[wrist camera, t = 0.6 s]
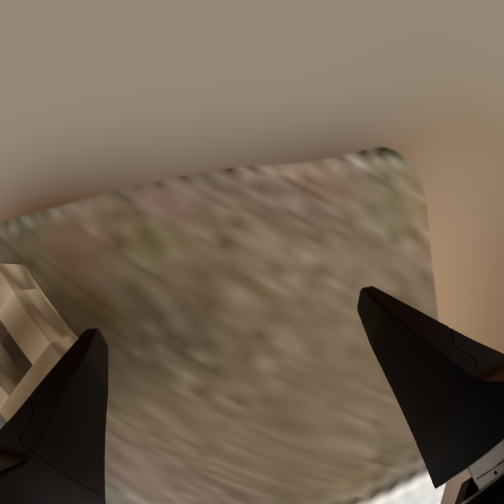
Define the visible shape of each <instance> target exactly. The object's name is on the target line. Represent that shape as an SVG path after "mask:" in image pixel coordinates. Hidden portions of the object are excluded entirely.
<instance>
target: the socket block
mask: <svg viewBox="0 0 504 504" xmlns="http://www.w3.org/2000/svg"><path fill="white" fill-rule="evenodd" d="M77 339H78V337H77V336H76V334H75V333H74V332H73V331H72V330H71V328H70V327H69V326H68V325H67V323H66V322H65V321H64V320H63V318H62V317H61V316H60V315H59V313H58V312H57V311H56V309H55V308H54V307H53V305H52V304H51V303H50V301H49V300H48V299H47V297H46V296H45V294H44V293H43V292H42V290H41V289H40V287H39V286H38V284H37V283H36V281H35V280H34V278H33V277H32V275H31V274H30V272H29V271H28V269H27V268H26V266H25V265H20V264H0V414H1V415H2V416H3V417H4V419H5V420H6V421H7V422H8V421H9V420H10V419H11V417H12V416H13V415H14V414H15V413H16V412H17V411H18V409H19V408H20V407H21V406H22V404H23V403H24V402H25V401H26V400H27V398H28V397H29V396H30V395H31V393H32V392H33V391H34V390H35V388H36V387H37V386H38V385H39V384H40V382H41V381H42V380H43V379H44V378H45V376H46V375H47V374H48V373H49V372H50V370H51V369H52V368H53V367H54V366H55V365H56V363H57V362H58V361H59V360H60V359H61V358H62V356H63V355H64V354H65V353H66V352H67V351H68V350H69V348H70V347H71V346H72V345H73V344H74V343H75V342H76V341H77ZM30 397H31V396H30Z"/></svg>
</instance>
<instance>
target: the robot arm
mask: <svg viewBox="0 0 504 504" xmlns="http://www.w3.org/2000/svg"><path fill="white" fill-rule="evenodd" d="M357 309H358V313H359V316H360V318H361V321H362V324H363V326H364V329H365V332H366V334H367V337H368V340H369V342H370V345H371V347H372V349H373V351H374V353H375V355H376V357H377V359H378V361H379V363H380V365H381V368H382V370H383V372H384V374H385V376H386V378H387V380H388V382H389V384H390V386H391V388H392V390H393V392H394V394H395V397H396V399H397V401H398V403H399V405H400V407H401V410H402V412H403V414H404V416H405V418H406V421H407V423H408V425H409V427H410V430H411V432H412V434H413V436H414V439H415V441H417V442H416V444H417V446H418V448H419V451H420V453H421V455H422V458H423V460H424V463H425V465H426V468H427V470H428V472H429V475H430V477H431V480H432V483H433V485H434V487H435V489H436V488H438V487H439V486H441V485H443V484H444V483H446V482H448V481H449V480H451V479H453V478H454V477H456V476H457V475H459V474H460V473H462V472H463V471H465V470H466V469H468V471H469V473H470V475H471V477H470V478H469V479H468V480H466V481H465V482H463V483H462V485H461V488H460V491H459V494H458V497H457V500H456V502H455V504H504V354H503V353H501V352H498V351H496V350H494V349H492V348H489V347H487V346H485V345H483V344H481V343H478V342H476V341H474V340H472V339H470V338H468V337H466V336H464V335H462V334H461V333H459V332H457V331H455V330H453V329H450V328H449V327H448V326H446V325H444V324H442V323H440V322H439V321H437V320H435V319H433V318H431V317H429V316H428V315H426V314H424V313H422V312H420V311H418V310H417V309H415V308H413V307H411V306H409V305H407V304H405V303H403V302H402V301H400V300H398V299H396V298H394V297H392V296H390V295H388V294H387V293H385V292H383V291H381V290H379V289H377V288H375V287H373V286H369V287H365V288H362V289H361V291H360V295H359V301H358V306H357ZM30 396H31V397H30ZM30 396H29V397H28V398H27V400H26V401H25V402H24V403H23V404H22V406H21V407H20V408H19V409H18V411H17V412H16V413H15V414H14V415H13V416H12V417H11V419H10V420H9V421H8V422H7V423H6V424H5V425H4V426H3V427H2V428H1V429H0V504H106V503H105V430H106V413H107V399H108V346H107V344H106V342H105V340H104V338H103V336H102V334H101V332H100V330H99V329H97V328H91V329H87V330H86V331H85V332H84V333H83V334H82V335H81V336H80V337H79V338H78V339H77V341H76V342H75V343H74V344H73V345H72V346H71V347H70V348H69V350H68V351H67V352H66V353H65V354H64V355H63V356H62V358H61V359H60V360H59V361H58V362H57V363H56V365H55V366H54V367H53V368H52V369H51V370H50V372H49V373H48V374H47V375H46V376H45V378H44V379H43V380H42V381H41V382H40V384H39V385H38V386H37V387H36V388H35V390H34V391H33V392H32V393H31V395H30Z"/></svg>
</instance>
